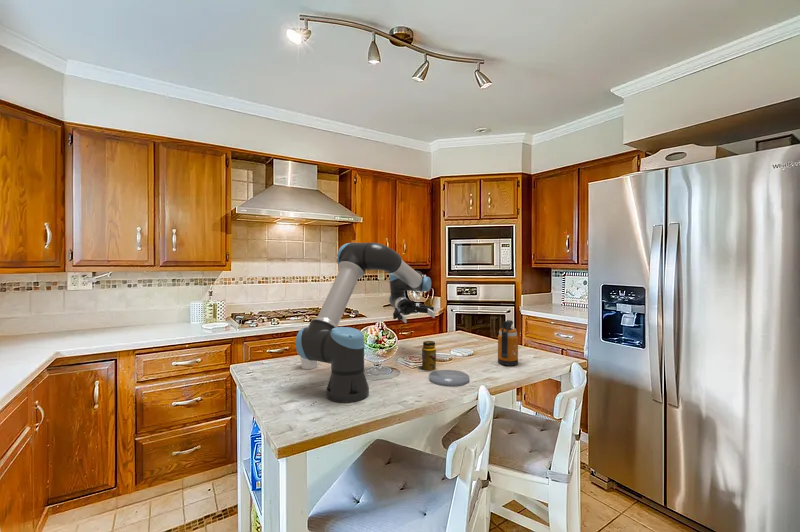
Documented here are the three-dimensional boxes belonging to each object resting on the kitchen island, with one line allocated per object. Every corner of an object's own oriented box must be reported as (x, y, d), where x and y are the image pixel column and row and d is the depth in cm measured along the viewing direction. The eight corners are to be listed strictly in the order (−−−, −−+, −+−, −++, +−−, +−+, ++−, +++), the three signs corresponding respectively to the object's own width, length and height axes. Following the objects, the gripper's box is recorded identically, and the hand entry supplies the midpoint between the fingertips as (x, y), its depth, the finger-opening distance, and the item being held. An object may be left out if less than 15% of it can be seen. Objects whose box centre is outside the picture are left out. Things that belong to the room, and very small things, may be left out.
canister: (520, 362, 175) (520, 319, 174) (513, 368, 166) (514, 323, 165) (501, 359, 180) (501, 318, 179) (493, 365, 170) (494, 321, 170)
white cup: (314, 370, 163) (314, 347, 162) (297, 369, 164) (296, 346, 164) (320, 365, 170) (320, 343, 170) (304, 364, 172) (304, 342, 171)
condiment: (438, 371, 162) (438, 343, 162) (418, 371, 161) (419, 344, 161) (434, 366, 170) (434, 339, 169) (415, 366, 168) (416, 340, 168)
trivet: (424, 383, 146) (424, 379, 146) (434, 371, 161) (434, 368, 161) (465, 388, 141) (465, 384, 141) (471, 375, 156) (471, 372, 156)
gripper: (427, 309, 193) (445, 320, 173) (381, 317, 186) (394, 330, 166) (426, 295, 192) (444, 305, 172) (379, 302, 184) (392, 314, 164)
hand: (420, 317), depth 169 cm, fingers open, 13 cm apart
